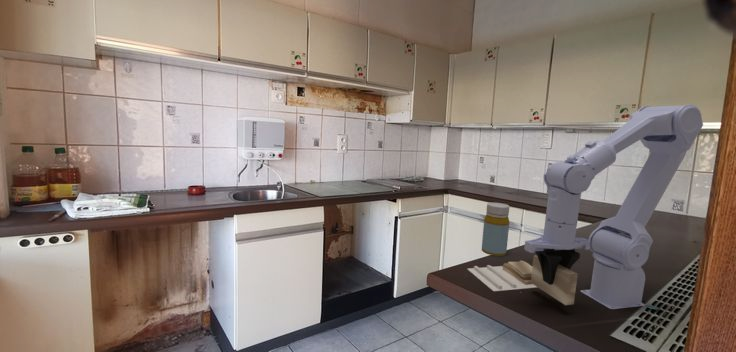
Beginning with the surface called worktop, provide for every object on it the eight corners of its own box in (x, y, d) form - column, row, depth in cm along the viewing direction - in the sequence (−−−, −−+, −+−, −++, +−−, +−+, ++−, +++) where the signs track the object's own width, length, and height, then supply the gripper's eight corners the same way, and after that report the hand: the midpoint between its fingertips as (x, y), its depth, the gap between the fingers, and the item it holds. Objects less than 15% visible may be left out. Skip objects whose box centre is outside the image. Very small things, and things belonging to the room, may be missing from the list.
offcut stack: (519, 267, 89) (520, 258, 89) (544, 283, 81) (545, 273, 80) (501, 268, 88) (502, 260, 88) (524, 284, 80) (525, 275, 79)
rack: (522, 266, 91) (523, 260, 91) (556, 287, 80) (557, 280, 80) (466, 270, 88) (467, 264, 87) (493, 293, 76) (494, 286, 76)
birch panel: (538, 282, 77) (541, 255, 76) (573, 304, 67) (577, 273, 66) (530, 282, 76) (533, 255, 75) (565, 305, 67) (569, 274, 66)
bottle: (499, 249, 104) (504, 202, 102) (510, 258, 97) (515, 208, 95) (477, 248, 104) (482, 201, 101) (486, 257, 97) (491, 207, 95)
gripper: (574, 214, 74) (566, 271, 77) (517, 216, 71) (511, 275, 73) (602, 223, 68) (593, 286, 70) (541, 226, 64) (533, 291, 67)
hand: (552, 282), depth 71 cm, fingers closed on birch panel, 2 cm apart
